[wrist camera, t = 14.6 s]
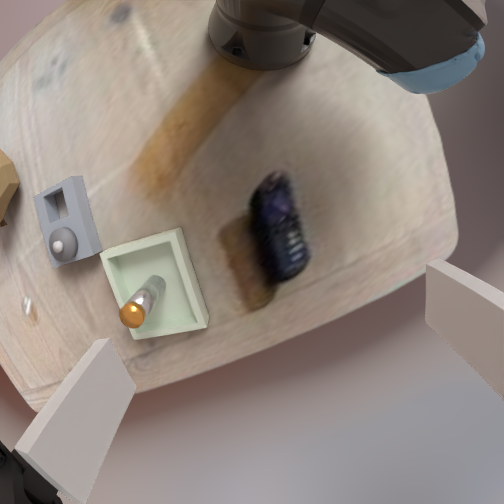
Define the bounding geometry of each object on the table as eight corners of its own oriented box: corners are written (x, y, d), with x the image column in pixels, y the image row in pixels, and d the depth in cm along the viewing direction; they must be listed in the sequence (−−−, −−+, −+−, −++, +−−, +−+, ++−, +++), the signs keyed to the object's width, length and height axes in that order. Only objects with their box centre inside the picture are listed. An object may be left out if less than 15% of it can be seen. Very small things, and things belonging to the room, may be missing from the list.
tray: (110, 247, 38) (99, 253, 35) (181, 226, 38) (174, 231, 34) (141, 328, 42) (134, 339, 38) (209, 316, 41) (206, 327, 38)
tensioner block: (44, 195, 36) (23, 198, 31) (82, 175, 35) (62, 176, 30) (63, 262, 39) (44, 273, 34) (102, 250, 38) (84, 260, 33)
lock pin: (144, 277, 39) (115, 307, 29) (162, 273, 39) (136, 303, 29) (151, 295, 39) (125, 330, 30) (169, 291, 39) (146, 326, 29)
